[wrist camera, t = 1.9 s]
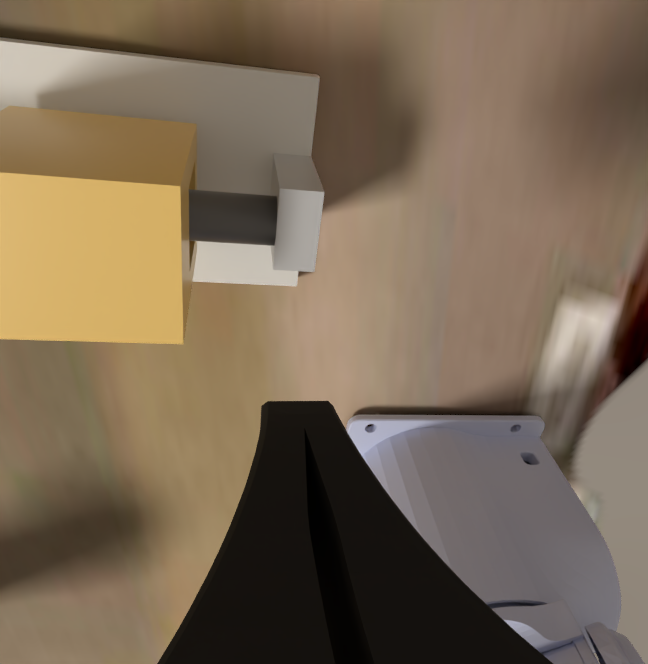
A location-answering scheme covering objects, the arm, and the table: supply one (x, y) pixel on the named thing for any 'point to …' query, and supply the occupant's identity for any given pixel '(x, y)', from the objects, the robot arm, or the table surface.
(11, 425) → the table surface
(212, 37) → the table surface
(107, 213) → the mustard yellow box
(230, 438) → the table surface
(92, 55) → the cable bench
